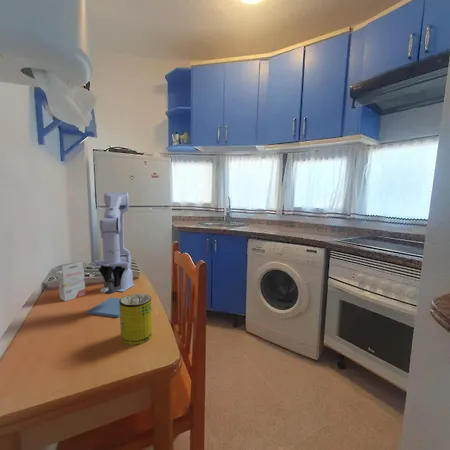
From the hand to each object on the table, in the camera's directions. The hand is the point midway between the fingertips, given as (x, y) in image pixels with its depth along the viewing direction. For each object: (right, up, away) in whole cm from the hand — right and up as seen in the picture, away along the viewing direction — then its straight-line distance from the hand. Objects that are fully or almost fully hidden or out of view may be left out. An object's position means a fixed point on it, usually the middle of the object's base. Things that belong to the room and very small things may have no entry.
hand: (113, 285), depth 100 cm
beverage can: (+15, -12, -19) cm, 27 cm away
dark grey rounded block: (0, -2, 0) cm, 2 cm away
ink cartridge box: (-22, -8, +12) cm, 26 cm away
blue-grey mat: (0, -9, +1) cm, 9 cm away
